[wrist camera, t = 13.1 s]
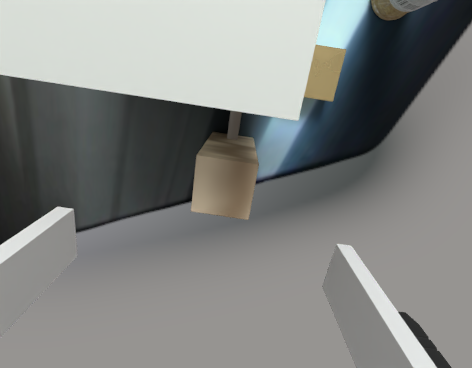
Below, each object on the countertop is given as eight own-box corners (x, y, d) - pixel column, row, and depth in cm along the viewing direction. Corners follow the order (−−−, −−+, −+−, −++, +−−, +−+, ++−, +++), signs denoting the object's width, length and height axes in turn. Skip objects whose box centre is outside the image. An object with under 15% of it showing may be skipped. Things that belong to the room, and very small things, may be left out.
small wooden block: (282, 93, 30) (286, 94, 28) (291, 46, 29) (297, 41, 26) (324, 100, 31) (332, 101, 28) (336, 53, 29) (346, 49, 26)
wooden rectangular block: (208, 170, 34) (190, 211, 22) (224, 37, 28) (211, 3, 17) (246, 175, 34) (248, 219, 23) (269, 44, 28) (286, 16, 17)
